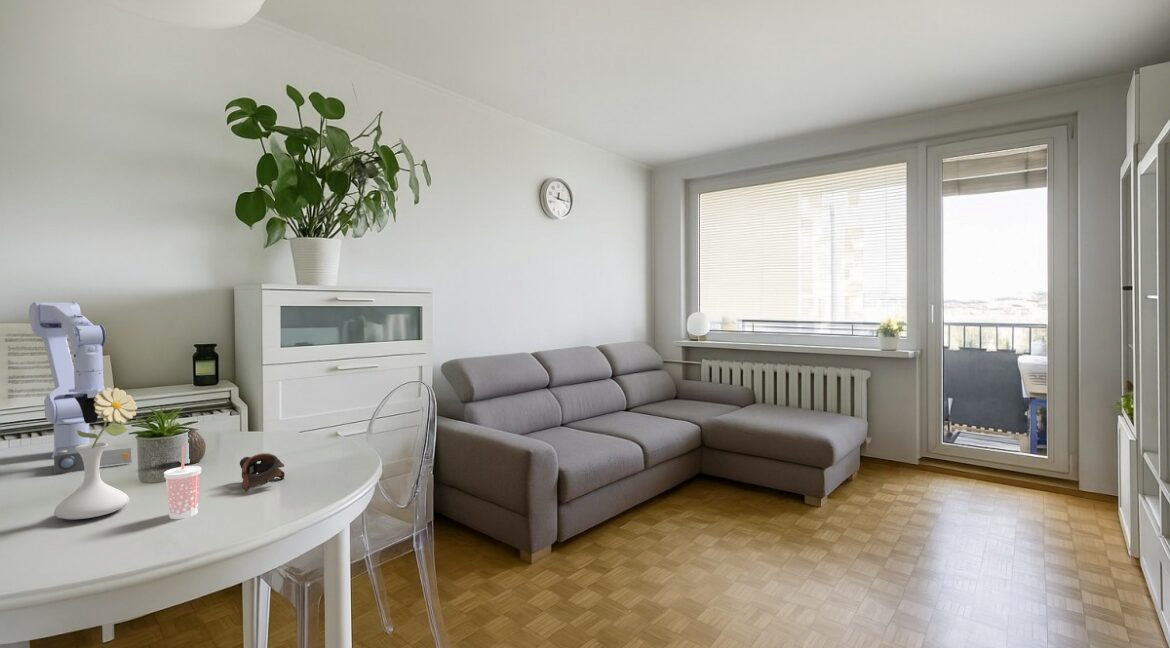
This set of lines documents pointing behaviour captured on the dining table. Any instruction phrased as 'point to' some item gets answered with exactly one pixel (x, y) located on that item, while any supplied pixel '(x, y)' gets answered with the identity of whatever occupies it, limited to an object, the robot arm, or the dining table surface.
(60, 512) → the flower in vase
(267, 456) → the brown curved piece
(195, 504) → the beverage cup
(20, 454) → the dining table surface
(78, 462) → the camera body
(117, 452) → the side door
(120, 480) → the dining table surface
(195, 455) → the brown ribbed ovoid
